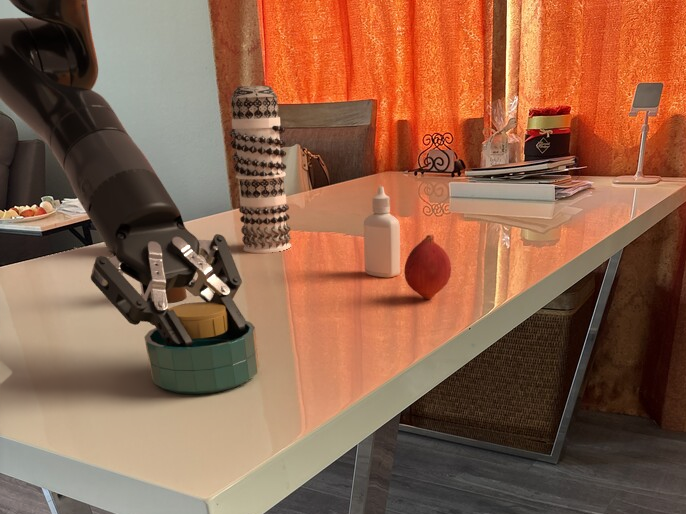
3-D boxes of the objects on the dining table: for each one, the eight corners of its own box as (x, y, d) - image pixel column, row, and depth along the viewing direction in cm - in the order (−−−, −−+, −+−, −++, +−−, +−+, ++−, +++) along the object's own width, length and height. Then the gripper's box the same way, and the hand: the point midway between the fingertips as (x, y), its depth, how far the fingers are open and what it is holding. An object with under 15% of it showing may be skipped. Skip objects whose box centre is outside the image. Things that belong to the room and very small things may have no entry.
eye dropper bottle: (373, 279, 102) (371, 189, 96) (362, 271, 106) (360, 185, 101) (402, 277, 103) (402, 187, 97) (390, 269, 107) (389, 183, 102)
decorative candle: (276, 241, 131) (262, 86, 119) (303, 248, 125) (293, 84, 113) (231, 248, 126) (213, 87, 114) (258, 255, 120) (242, 86, 108)
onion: (402, 305, 89) (402, 238, 85) (406, 293, 94) (406, 230, 90) (449, 305, 88) (451, 238, 85) (450, 293, 93) (452, 229, 90)
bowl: (141, 399, 64) (132, 351, 62) (166, 361, 73) (158, 318, 71) (253, 395, 64) (247, 346, 62) (263, 358, 73) (259, 314, 71)
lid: (236, 333, 65) (234, 310, 65) (180, 342, 63) (176, 320, 62) (216, 320, 70) (213, 299, 69) (162, 329, 67) (159, 307, 66)
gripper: (177, 213, 75) (260, 346, 73) (43, 234, 66) (134, 386, 64) (199, 159, 69) (290, 302, 67) (55, 174, 60) (155, 339, 58)
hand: (213, 342), depth 65 cm, fingers closed on lid, 5 cm apart
